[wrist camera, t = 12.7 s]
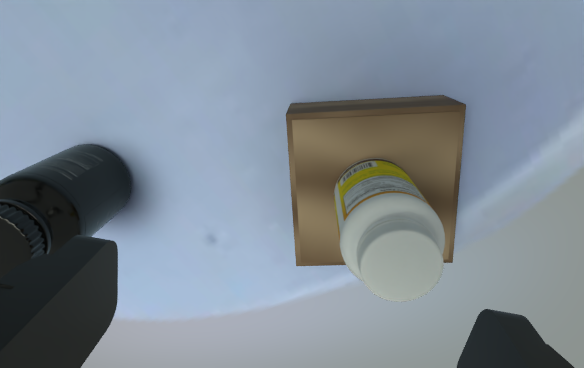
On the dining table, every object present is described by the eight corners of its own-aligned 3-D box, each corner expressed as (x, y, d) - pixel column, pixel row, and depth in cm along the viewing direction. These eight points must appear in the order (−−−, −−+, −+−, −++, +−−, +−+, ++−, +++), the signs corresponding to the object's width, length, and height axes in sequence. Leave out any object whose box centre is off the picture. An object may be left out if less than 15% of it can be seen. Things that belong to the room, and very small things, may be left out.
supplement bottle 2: (391, 237, 29) (428, 331, 20) (321, 212, 29) (325, 295, 19) (425, 171, 27) (484, 238, 18) (351, 143, 27) (371, 197, 17)
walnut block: (290, 103, 32) (285, 114, 27) (443, 95, 31) (467, 105, 26) (299, 236, 36) (296, 267, 31) (434, 232, 35) (453, 263, 30)
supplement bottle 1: (43, 175, 35) (-86, 238, 24) (91, 126, 33) (-25, 170, 22) (101, 229, 37) (6, 311, 25) (150, 185, 35) (70, 253, 24)
